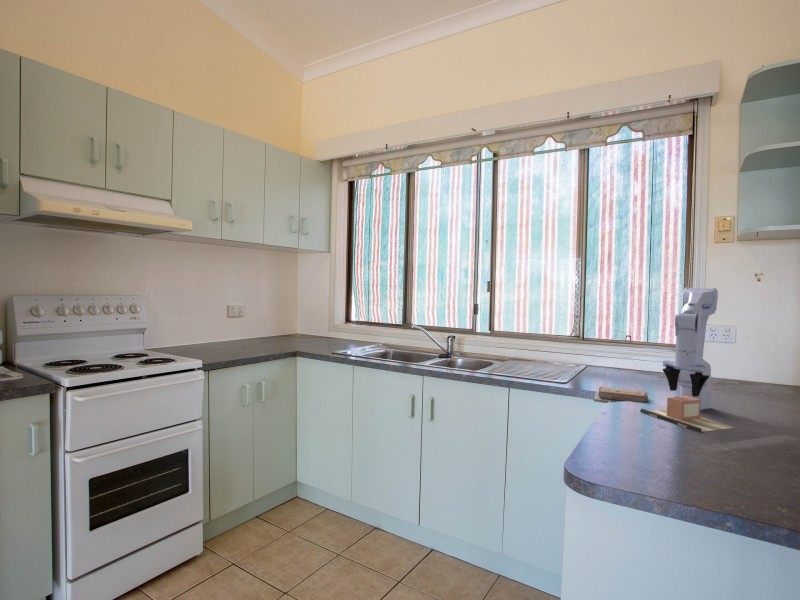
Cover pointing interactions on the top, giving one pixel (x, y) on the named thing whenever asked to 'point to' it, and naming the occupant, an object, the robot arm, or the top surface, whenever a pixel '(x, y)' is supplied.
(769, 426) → the top surface
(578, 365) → the top surface
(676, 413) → the carton
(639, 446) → the top surface
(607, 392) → the packaged product
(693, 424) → the shelf board
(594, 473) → the top surface
